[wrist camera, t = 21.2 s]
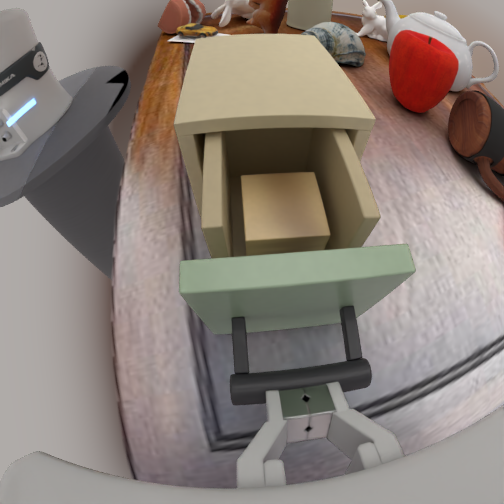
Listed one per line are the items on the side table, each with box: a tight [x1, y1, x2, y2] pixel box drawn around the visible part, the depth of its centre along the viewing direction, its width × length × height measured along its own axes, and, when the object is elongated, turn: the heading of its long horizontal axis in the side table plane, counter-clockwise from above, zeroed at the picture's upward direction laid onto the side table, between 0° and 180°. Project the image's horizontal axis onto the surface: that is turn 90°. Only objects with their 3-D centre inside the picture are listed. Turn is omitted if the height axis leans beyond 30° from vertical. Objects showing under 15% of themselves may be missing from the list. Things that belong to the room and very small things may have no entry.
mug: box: [448, 91, 504, 201], centre depth 21 cm, size 9×12×12 cm
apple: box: [389, 30, 459, 113], centre depth 23 cm, size 9×9×11 cm
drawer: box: [179, 128, 416, 405], centre depth 14 cm, size 15×8×8 cm, turn 4°
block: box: [241, 172, 331, 256], centre depth 15 cm, size 4×4×4 cm
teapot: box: [378, 0, 499, 91], centre depth 29 cm, size 19×18×14 cm
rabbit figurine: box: [356, 0, 389, 41], centre depth 38 cm, size 12×8×10 cm, turn 94°
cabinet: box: [174, 34, 376, 217], centre depth 18 cm, size 13×10×10 cm
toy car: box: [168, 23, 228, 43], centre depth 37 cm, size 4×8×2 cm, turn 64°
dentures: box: [158, 0, 206, 34], centre depth 39 cm, size 9×7×8 cm
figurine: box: [246, 0, 288, 34], centre depth 31 cm, size 6×8×15 cm
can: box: [286, 0, 333, 30], centre depth 37 cm, size 9×9×12 cm
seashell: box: [301, 22, 366, 67], centre depth 31 cm, size 6×8×12 cm
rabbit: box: [211, 0, 255, 27], centre depth 41 cm, size 12×9×12 cm
